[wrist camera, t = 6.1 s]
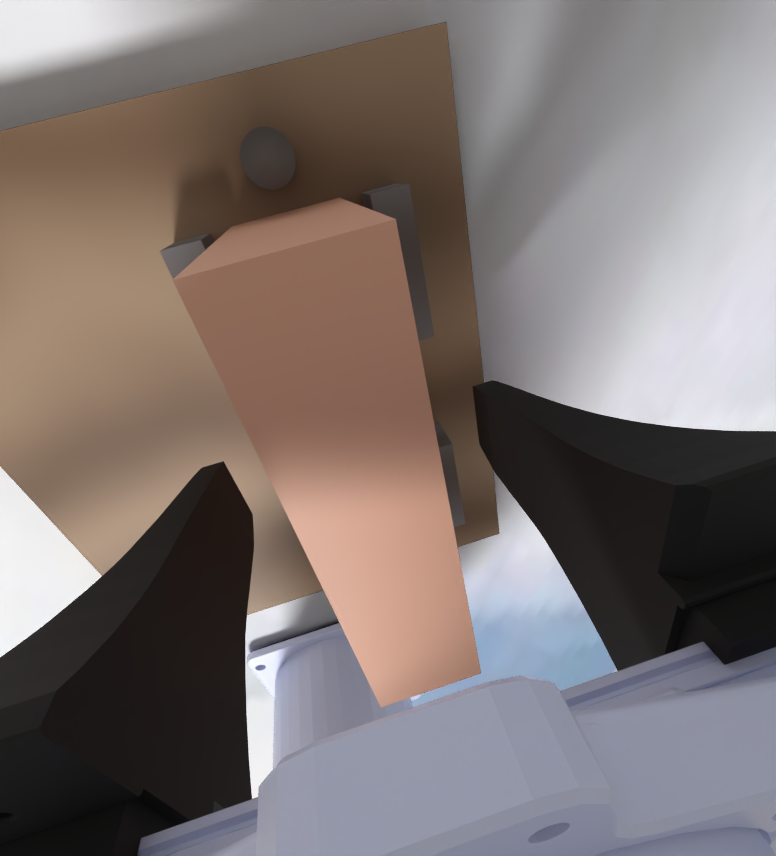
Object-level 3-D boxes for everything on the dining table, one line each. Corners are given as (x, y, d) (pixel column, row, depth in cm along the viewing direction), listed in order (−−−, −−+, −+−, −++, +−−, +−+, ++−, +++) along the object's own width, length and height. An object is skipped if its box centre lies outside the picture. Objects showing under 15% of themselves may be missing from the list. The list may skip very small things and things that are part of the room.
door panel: (417, 510, 18) (481, 673, 12) (349, 531, 18) (380, 707, 12) (339, 197, 11) (395, 219, 6) (231, 226, 11) (172, 279, 5)
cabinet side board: (489, 516, 21) (513, 557, 18) (169, 618, 20) (154, 675, 18) (431, 35, 11) (469, -1, 9) (-200, 191, 10) (-340, 195, 8)
